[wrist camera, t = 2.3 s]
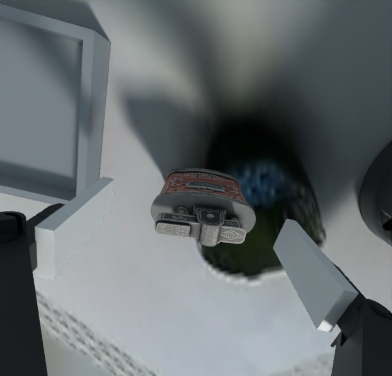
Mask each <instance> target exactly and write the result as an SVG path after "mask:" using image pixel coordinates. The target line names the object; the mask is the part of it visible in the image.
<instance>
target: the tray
mask: <svg viewBox="0 0 392 376" xmlns="http://www.w3.org/2000/svg"><path fill="white" fill-rule="evenodd" d="M110 45H111V42H109V41H108V40H107V39H105V38H104V37H103V36H101V35H100V34H99V33H97V32H96V31H95V30H92V29H88V28H84V27H81V26H77V25H74V24H70V23H67V22H63V21H60V20H56V19H53V18H49V17H45V16H42V15H38V14H35V13H31V12H28V11H24V10H21V9H17V8H14V7H10V6H6V5H3V4H0V193H5V194H9V195H14V196H18V197H23V198H27V199H32V200H36V201H41V202H45V203H49V204H57V203H62V204H67V203H68V202H69V201H71V200H72V199H74V198H75V197H76V196H78V195H79V194H80V193H82V192H83V191H84V190H86V189H87V188H89V187H90V186H91V185H93V184H94V183H95V182H97V181H98V180H99V175H100V163H101V152H102V140H103V128H104V116H105V104H106V92H107V81H108V69H109V57H110Z"/></svg>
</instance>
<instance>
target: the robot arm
mask: <svg viewBox="0 0 392 376" xmlns="http://www.w3.org/2000/svg"><path fill="white" fill-rule="evenodd" d="M113 186H114V179H111V178H107V177H102V178H101V179H100V180H98V181H97V182H95V183H94V184H93V185H91V186H90V187H89V188H87V189H86V190H84V191H83V192H82V193H80V194H79V195H78V196H76V197H75V198H74V199H72V200H71V201H69V202H68V203H67V204H62V203H57V204H54V205H51V206H49V207H47V208H46V209H44V210H43V211H42V212H40V213H38V214H36V216H33V217H32V218H30V219H29V220H27V221H26V217H25V215H24V214H22V213H20V212H14V211H5V212H0V376H48V375H47V368H46V361H45V354H44V347H43V340H42V334H41V327H40V320H39V313H38V306H37V299H36V292H35V286H34V279H33V271H34V270H35V269H37V277H38V278H43V279H48V280H55V279H56V278H57V276H58V275H59V274H60V273H61V272H62V270H63V269H64V268H65V267H66V266H67V264H68V263H69V262H70V261H71V260H72V258H73V257H74V256H75V255H76V253H77V252H78V251H79V250H80V249H81V247H82V246H83V245H84V244H85V243H86V241H87V240H88V239H89V238H90V237H91V235H92V234H93V233H94V232H95V231H96V229H97V228H98V227H99V226H100V225H101V223H102V222H103V221H104V220H105V219H106V217H107V216H108V215H109V214H110V213H111V204H112V195H113ZM360 209H361V214H362V217H363V220H364V222H365V223H366V225H367V227H368V228H369V229H370V230H371V231H372V232H373V233H374V234H375V235H377V236H378V237H379V238H381V239H382V240H384V241H385V242H386V243H388V244H389V245H391V246H392V142H391V143H390V144H389V145H388V146H387V147H386V148H385V149H384V150H383V151H382V152H381V154H380V155H379V156H378V157H377V159H376V160H375V162H374V163H373V164H372V166H371V168H370V169H369V171H368V173H367V175H366V178H365V180H364V183H363V186H362V190H361V196H360ZM273 249H274V250H275V252H276V254H277V256H278V258H279V260H280V262H281V263H282V265H283V267H284V269H285V271H286V273H287V275H288V276H289V278H290V280H291V282H292V284H293V286H294V288H295V289H296V291H297V293H298V295H299V297H300V299H301V301H302V302H303V304H304V306H305V308H306V310H307V312H308V314H309V315H310V317H311V319H312V321H313V323H314V325H315V327H316V328H317V330H323V331H328V332H331V331H332V330H333V328H334V327H335V325H336V324H337V325H338V326H339V328H340V329H341V332H340V333H339V335H338V336H337V337H336V339H335V340H334V341H333V343H332V344H331V347H334V346H335V345H336V349H335V356H334V362H333V368H332V374H331V376H392V313H391V312H390V311H389V310H388V309H387V308H385V307H384V306H382V305H381V304H379V303H377V302H375V301H373V300H370V299H366V298H365V297H364V296H363V295H362V293H361V292H360V291H359V290H358V289H357V288H356V287H355V286H354V284H353V283H352V282H351V281H349V279H348V278H347V276H345V275H344V273H343V272H342V271H341V270H340V269H339V267H337V266H336V265H335V264H334V263H332V262H331V261H330V260H329V259H328V257H327V256H326V255H325V254H324V253H323V252H322V251H321V249H320V248H319V247H318V246H317V245H316V244H315V242H314V241H313V240H312V239H311V238H310V237H309V236H308V234H307V233H306V232H305V231H304V230H303V229H302V227H301V226H300V225H299V224H298V223H297V222H296V221H294V220H290V219H286V221H285V223H284V225H283V227H282V229H281V231H280V234H279V236H278V238H277V240H276V242H275V244H274V247H273Z"/></svg>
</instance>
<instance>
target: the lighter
mask: <svg viewBox="0 0 392 376" xmlns="http://www.w3.org/2000/svg"><path fill="white" fill-rule="evenodd" d="M151 215H152V217H153V219H154V221H155V225H154V229H155V232H156V233H158V234H161V235H170V236H178V237H187V238H195V240H197V241H199V243H200V244H202V245H205V246H215V245H216V244H217V243H220V242H229V243H242V242H243V241H244V239H245V236H246V233H248V232H250V230H251V229H252V228H253V227H254V224H255V220H256V216H255V213H254V211H253V209H252V207H251V206H250V205H249V204H248V203H247V202H246V200H245V198H244V196H243V194H242V192H241V190H240V184H239V182H238V180H237V179H236V178H235V177H233V176H231V175H228V174H225V173H221V172H218V171H213V170H208V169H197V168H183V169H173V170H171V171H170V172H169V173H168V175H167V177H166V180H165V185H164V187H163V189H162V191H161V193H160V194H159V195H158V196H157V197H156V199H155V200H154V202H153V204H152V207H151Z"/></svg>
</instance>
